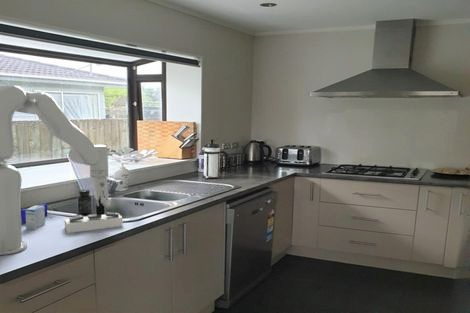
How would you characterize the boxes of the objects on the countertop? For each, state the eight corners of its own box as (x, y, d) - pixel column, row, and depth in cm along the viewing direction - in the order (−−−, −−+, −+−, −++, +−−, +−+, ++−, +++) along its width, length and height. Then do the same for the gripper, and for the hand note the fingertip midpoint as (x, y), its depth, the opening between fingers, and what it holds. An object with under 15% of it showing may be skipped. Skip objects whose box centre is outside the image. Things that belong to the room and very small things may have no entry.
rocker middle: (88, 219, 169) (88, 216, 169) (87, 217, 172) (87, 214, 172) (101, 217, 172) (101, 215, 172) (99, 216, 175) (99, 213, 174)
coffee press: (214, 180, 292) (215, 140, 288) (197, 178, 300) (198, 139, 297) (227, 177, 306) (228, 139, 303) (211, 175, 315) (212, 138, 311)
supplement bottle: (74, 214, 192) (73, 190, 191) (84, 211, 198) (84, 188, 197) (84, 216, 189) (84, 192, 188) (95, 213, 196) (94, 189, 194)
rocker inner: (70, 222, 166) (70, 219, 165) (69, 220, 168) (69, 217, 168) (83, 218, 168) (82, 216, 168) (82, 216, 171) (81, 214, 171)
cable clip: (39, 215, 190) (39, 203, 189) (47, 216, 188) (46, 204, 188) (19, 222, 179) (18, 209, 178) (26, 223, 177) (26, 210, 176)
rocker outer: (106, 216, 173) (107, 213, 173) (105, 214, 176) (105, 212, 176) (118, 216, 176) (118, 214, 175) (116, 214, 178) (117, 212, 178)
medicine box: (35, 223, 176) (34, 205, 175) (45, 224, 176) (44, 205, 175) (25, 229, 168) (25, 209, 167) (36, 229, 168) (35, 209, 167)
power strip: (67, 233, 165) (67, 223, 164) (64, 227, 172) (64, 218, 171) (122, 226, 176) (122, 217, 176) (118, 221, 183) (118, 212, 182)
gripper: (111, 175, 166) (113, 217, 169) (104, 170, 179) (105, 209, 181) (93, 177, 162) (94, 219, 165) (87, 171, 175) (88, 211, 178)
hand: (100, 214), depth 173 cm, fingers closed
